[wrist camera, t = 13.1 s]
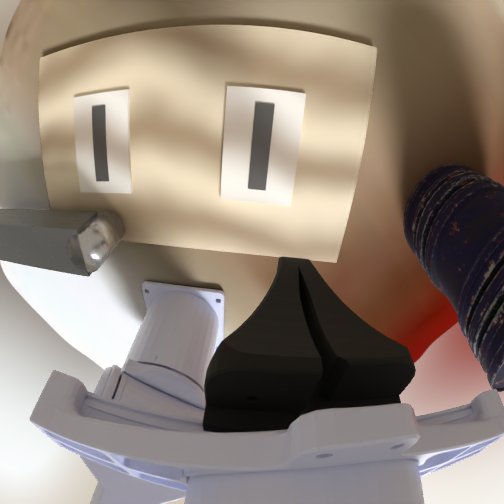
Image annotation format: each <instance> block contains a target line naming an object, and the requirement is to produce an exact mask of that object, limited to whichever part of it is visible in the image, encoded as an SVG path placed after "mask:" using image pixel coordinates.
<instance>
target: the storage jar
mask: <svg viewBox="0 0 504 504" xmlns="http://www.w3.org/2000/svg"><path fill="white" fill-rule="evenodd" d="M404 232H405V237H406V240H407V243H408V245H409V247H410V248H411V250H412V251H413V252H414V254H415V255H416V256H417V258H418V260H419V262H420V264H421V266H422V268H423V269H424V271H425V272H426V274H427V275H428V276H429V277H430V279H431V281H432V283H433V284H434V285H435V287H437V288H438V290H439V291H440V292H442V293H443V294H445V295H446V296H447V298H448V299H449V301H450V302H451V304H452V306H453V307H454V309H455V311H456V312H457V314H458V321H459V324H460V327H461V330H462V333H463V334H464V336H465V337H466V338H467V339H468V342H469V345H470V347H471V349H472V351H473V353H474V355H475V357H476V358H477V360H478V361H480V364H481V366H482V368H483V370H484V371H485V372H486V373H488V374H487V378H488V381H489V383H490V385H491V388H492V389H497V391H498V392H502V391H504V186H502V185H501V184H499V183H497V182H495V181H493V180H492V179H490V178H488V177H487V176H485V175H483V174H481V173H477V172H475V171H473V170H472V169H470V168H468V167H466V166H464V165H461V164H455V163H450V164H445V165H442V166H439V167H437V168H435V169H433V170H432V171H430V172H429V173H428V174H427V175H425V177H424V178H423V179H422V180H421V181H420V182H419V183H418V185H417V186H416V188H415V189H414V191H413V193H412V194H411V196H410V199H409V201H408V204H407V207H406V211H405V217H404Z"/></svg>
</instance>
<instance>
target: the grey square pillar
mask: <svg viewBox="0 0 504 504" xmlns="http://www.w3.org/2000/svg"><path fill="white" fill-rule="evenodd" d="M124 233H125V228H124V224H123V222H122V220H121V218H120V217H119V216H118V215H117V214H116V213H115V212H113V211H111V210H107V209H103V210H100V211H98V212H97V211H71V210H33V209H0V260H4V261H8V262H13V263H18V264H23V265H28V266H33V267H38V268H43V269H48V270H54V271H59V272H65V273H71V274H76V275H82V276H88V277H89V276H90V274H91V273H92V272H95V271H96V270H98V268H99V267H100V266H101V265H102V263H103V262H104V261H105V259H106V258H107V257H108V256H109V254H110V253H111V252H112V251H113V250H114V248H115V247H116V246H117V245H118V243H119V242H120V241H121V240H122V238H123V237H124Z"/></svg>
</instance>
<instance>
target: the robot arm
mask: <svg viewBox="0 0 504 504" xmlns="http://www.w3.org/2000/svg"><path fill="white" fill-rule="evenodd" d="M146 289H147V290H149V291H147V290H146ZM142 291H143V296H144V301H145V306H146V311H147V313H146V315H145V318H144V320H143V322H142V324H141V326H140V329H139V331H138V333H137V335H136V338H135V340H134V342H133V345H132V347H131V349H130V352H129V354H128V356H127V359H126V361H125V363H124V366H123V367H122V369H121V368H120V367H118V366H117V365H113V366H112V367H108V368H106V369H105V370H104V372H103V374H102V376H101V378H100V380H99V383H98V385H97V387H96V390H95V391H94V393H91V392H88V391H87V389H86V387H85V386H84V384H83V383H82V382H81V381H79V380H78V379H76V378H74V377H72V376H69V375H66V374H64V373H61V372H59V371H56V370H53V372H52V374H51V376H50V378H49V379H48V381H47V383H46V386H45V388H44V389H43V391H42V393H41V395H40V398H39V400H38V402H37V404H36V406H35V408H34V410H33V413H32V415H31V417H30V421H31V422H32V423H33V424H34V425H35V426H37V427H38V428H39V429H40V430H41V431H42V432H43V433H45V434H46V435H47V436H48V437H50V438H51V439H52V440H53V441H54V442H56V443H57V444H58V445H60V446H62V447H64V448H66V449H68V450H70V451H72V452H74V453H76V454H79V455H80V457H81V458H82V460H83V461H84V463H85V464H86V466H87V467H88V468H89V470H90V471H91V472H92V474H93V475H94V476H95V478H96V479H97V480H98V484H97V486H96V489H95V492H94V494H93V497H92V500H91V503H90V504H164V503H168V502H172V501H175V500H179V499H182V498H185V503H184V504H424V498H423V491H422V485H421V479H420V477H422V476H424V475H427V474H430V473H433V472H435V471H438V470H440V469H443V468H445V467H448V466H450V465H452V464H455V463H457V462H459V461H461V460H464V459H466V458H468V457H471V456H473V455H475V454H477V453H479V452H481V451H482V450H484V449H485V448H486V447H488V446H489V445H491V444H492V443H493V442H495V441H496V440H498V439H499V438H500V437H502V436H503V435H504V406H503V404H502V401H501V399H500V396H499V394H498V391H497V389H492V390H489V391H486V392H483V393H481V394H480V395H478V396H477V397H476V398H475V399H474V400H473V401H472V402H471V403H470V404H467V405H463V406H459V407H456V408H452V409H448V410H444V411H440V412H435V413H431V414H426V415H421V416H415V413H414V409H413V408H412V406H411V405H409V404H401V401H400V397H399V394H401V392H402V391H403V390H404V389H405V388H406V387H407V386H408V384H409V383H410V382H411V380H412V379H413V377H414V375H415V371H416V370H415V366H414V363H413V360H412V357H411V355H410V352H409V350H408V348H407V347H405V346H403V345H401V344H399V343H397V342H396V341H394V340H392V339H390V338H388V337H386V336H385V335H383V334H382V333H380V332H379V331H377V330H376V329H374V328H373V327H371V326H370V325H369V324H367V323H366V322H365V321H363V320H362V319H361V318H360V317H358V316H357V315H356V314H355V313H354V312H353V311H352V310H351V309H349V308H348V307H347V306H346V305H345V304H344V303H343V302H342V301H341V300H340V299H339V297H338V296H337V295H336V294H335V293H334V292H333V291H332V290H331V288H330V287H329V286H328V285H327V283H326V282H325V281H324V279H323V278H322V277H321V275H320V274H319V273H318V271H317V270H316V268H315V267H314V266H313V264H312V263H311V262H310V260H309V259H303V258H293V257H283V256H282V257H280V258H279V261H278V268H277V274H276V276H275V278H274V281H273V283H272V285H271V287H270V289H269V291H268V292H267V294H266V296H265V297H264V299H263V300H262V302H261V303H260V305H259V306H258V307H257V308H256V310H255V311H254V312H253V313H252V315H251V316H250V317H249V318H248V319H247V320H246V321H245V322H244V323H243V324H242V325H241V326H240V327H239V328H238V329H237V330H235V331H234V332H233V333H232V334H230V335H229V336H228V337H226V338H225V339H224V340H223V332H224V296H225V295H224V292H223V291H221V290H214V289H205V288H197V287H188V286H180V285H173V284H165V283H158V282H150V281H144V282H143V283H142ZM217 299H220V300H217Z"/></svg>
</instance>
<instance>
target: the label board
mask: <svg viewBox="0 0 504 504" xmlns="http://www.w3.org/2000/svg"><path fill="white" fill-rule="evenodd" d="M376 57H377V48H376V47H372V46H369V45H366V44H362V43H358V42H354V41H350V40H346V39H342V38H338V37H333V36H328V35H323V34H318V33H313V32H307V31H300V30H293V29H285V28H276V27H265V26H251V25H193V26H178V27H167V28H159V29H151V30H144V31H138V32H132V33H126V34H121V35H116V36H111V37H107V38H103V39H99V40H95V41H91V42H87V43H83V44H80V45H77V46H73V47H70V48H67V49H64V50H61V51H58V52H55V53H52V54H50V55H47V56H44V57H42V58H40V68H39V126H40V140H41V151H42V160H43V168H44V175H45V182H46V188H47V194H48V199H49V204H50V209H51V210H71V211H97V212H98V211H100V210H103V209H107V210H111V211H113V212H115V213H116V214H117V215H118V216H119V217H120V218H121V220H122V222H123V224H124V228H125V233H124V237H123V238H122V240H121V241H127V242H137V243H147V244H156V245H166V246H176V247H186V248H196V249H205V250H215V251H225V252H235V253H245V254H255V255H265V256H275V257H282V256H283V257H293V258H303V259H309V260H315V261H325V262H335V263H336V261H337V258H338V254H339V251H340V247H341V243H342V240H343V236H344V232H345V228H346V224H347V220H348V216H349V212H350V208H351V204H352V200H353V195H354V191H355V187H356V182H357V177H358V173H359V168H360V163H361V158H362V153H363V147H364V142H365V136H366V131H367V125H368V119H369V112H370V106H371V99H372V91H373V84H374V75H375V67H376Z"/></svg>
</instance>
